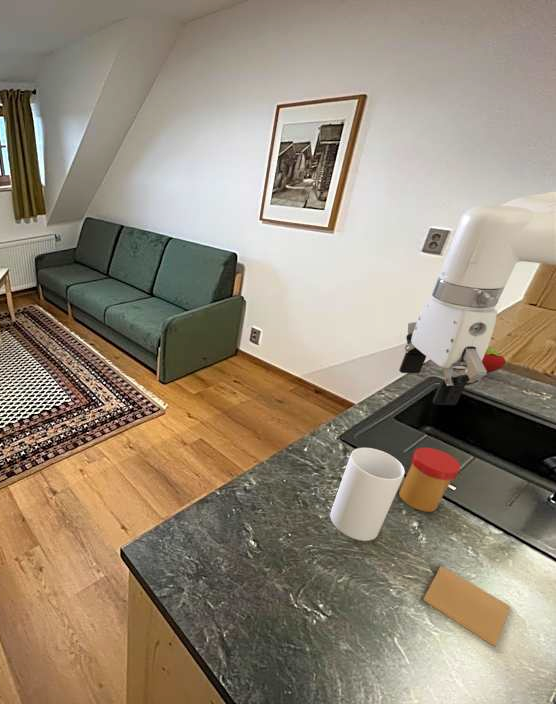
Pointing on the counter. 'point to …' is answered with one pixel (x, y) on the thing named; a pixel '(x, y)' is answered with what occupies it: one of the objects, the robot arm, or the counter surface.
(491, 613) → the mat
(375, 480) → the cup
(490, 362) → the strawberry
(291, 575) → the counter surface
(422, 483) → the jar
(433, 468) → the lid
